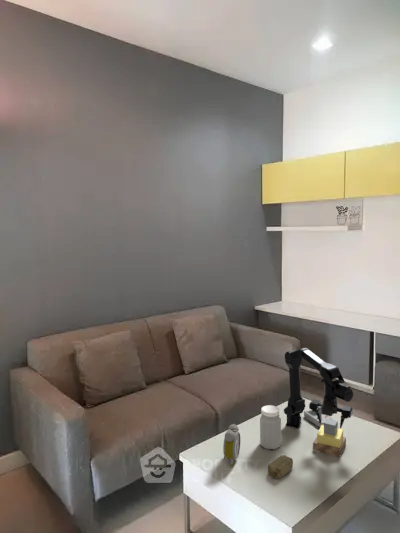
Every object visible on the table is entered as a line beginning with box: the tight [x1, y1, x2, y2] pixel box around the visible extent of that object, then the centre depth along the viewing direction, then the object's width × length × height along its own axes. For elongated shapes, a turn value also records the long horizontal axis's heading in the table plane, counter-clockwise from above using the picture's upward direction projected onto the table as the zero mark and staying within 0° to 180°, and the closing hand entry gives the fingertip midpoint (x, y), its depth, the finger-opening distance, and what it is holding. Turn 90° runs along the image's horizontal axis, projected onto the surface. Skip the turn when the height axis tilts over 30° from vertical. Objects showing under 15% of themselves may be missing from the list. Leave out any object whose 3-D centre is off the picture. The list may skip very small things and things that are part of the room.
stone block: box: [267, 454, 294, 480], centre depth 172 cm, size 6×12×5 cm, turn 134°
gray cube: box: [324, 418, 339, 436], centre depth 188 cm, size 5×5×5 cm
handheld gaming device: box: [303, 409, 334, 429], centre depth 214 cm, size 9×15×4 cm, turn 22°
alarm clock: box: [222, 423, 241, 467], centre depth 181 cm, size 12×7×15 cm, turn 161°
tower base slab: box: [312, 436, 347, 458], centre depth 189 cm, size 12×12×4 cm
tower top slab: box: [316, 425, 344, 448], centre depth 189 cm, size 10×10×4 cm
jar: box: [259, 404, 282, 450], centre depth 192 cm, size 10×10×18 cm
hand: (330, 425), depth 189 cm, fingers open, 9 cm apart
